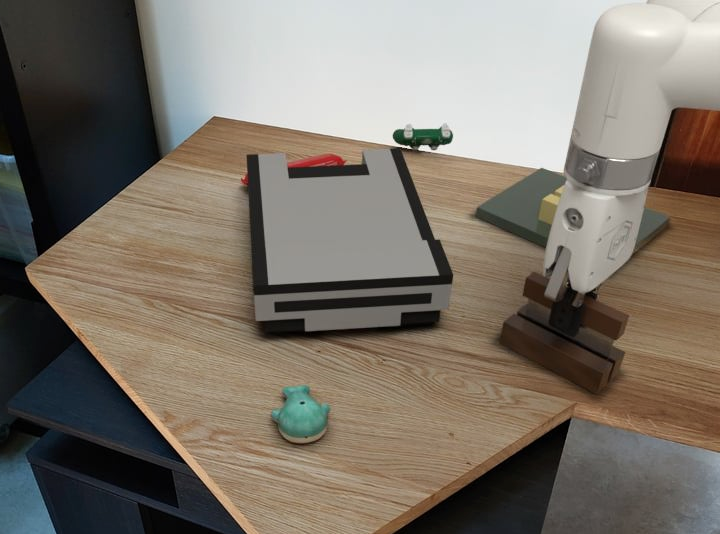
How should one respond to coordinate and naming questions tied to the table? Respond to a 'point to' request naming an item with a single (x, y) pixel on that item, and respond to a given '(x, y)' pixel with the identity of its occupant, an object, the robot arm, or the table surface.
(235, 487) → the table surface
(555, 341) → the block
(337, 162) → the candy bar
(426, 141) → the gaming controller
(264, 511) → the table surface
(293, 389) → the whale figurine
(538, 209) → the cutting board
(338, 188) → the game console
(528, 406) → the table surface
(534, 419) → the table surface
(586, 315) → the bench scraper
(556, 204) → the butter pat
